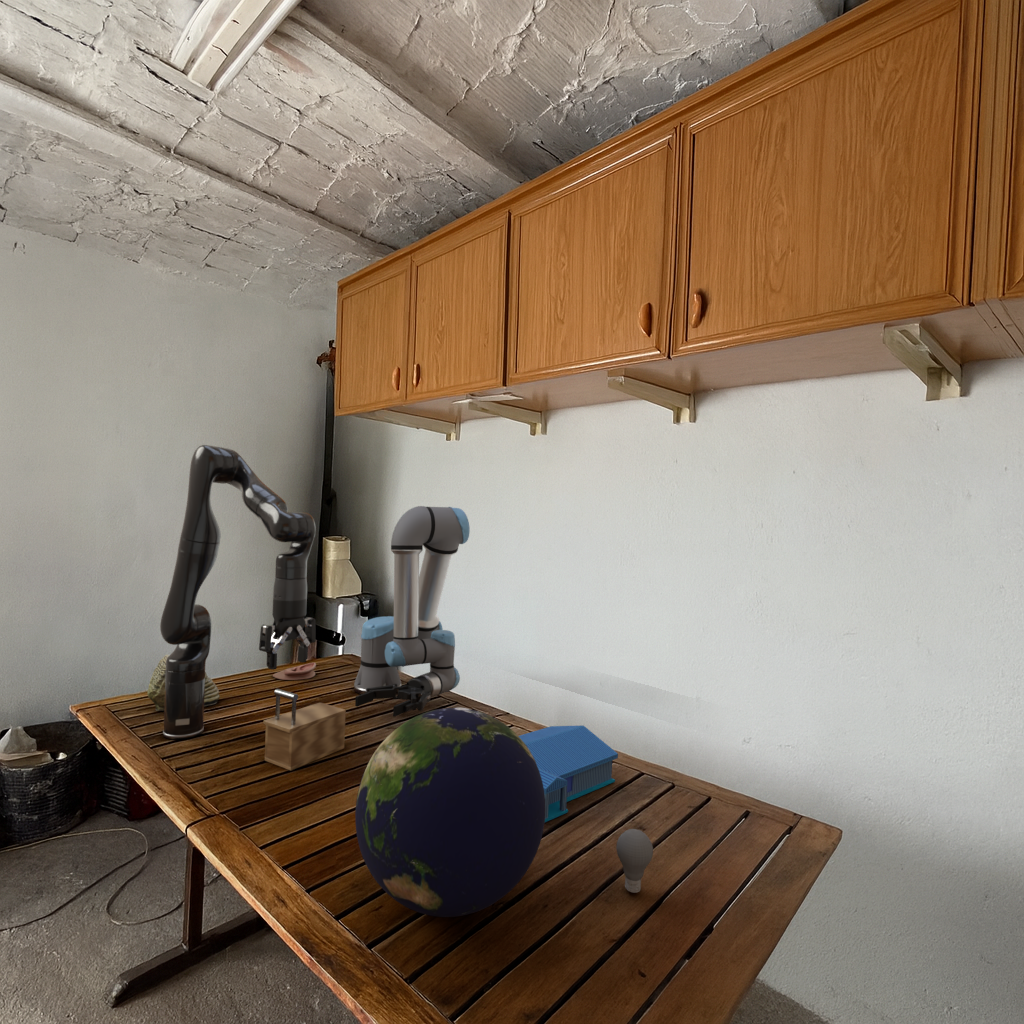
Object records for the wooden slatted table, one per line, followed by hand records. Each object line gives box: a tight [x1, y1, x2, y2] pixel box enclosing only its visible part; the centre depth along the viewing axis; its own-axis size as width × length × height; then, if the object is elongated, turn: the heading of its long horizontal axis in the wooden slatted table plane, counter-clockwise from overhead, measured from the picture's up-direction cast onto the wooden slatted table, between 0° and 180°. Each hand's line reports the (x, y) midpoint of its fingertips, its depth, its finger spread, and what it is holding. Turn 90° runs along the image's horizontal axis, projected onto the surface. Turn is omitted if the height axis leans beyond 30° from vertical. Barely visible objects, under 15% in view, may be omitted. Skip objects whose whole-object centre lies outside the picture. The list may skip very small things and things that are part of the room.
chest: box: [264, 712, 347, 771], centre depth 155 cm, size 16×9×9 cm, turn 149°
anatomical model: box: [272, 662, 317, 681], centre depth 220 cm, size 13×4×12 cm
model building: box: [518, 725, 619, 823], centre depth 140 cm, size 39×24×10 cm, turn 132°
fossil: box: [147, 654, 221, 712], centre depth 185 cm, size 9×18×15 cm, turn 132°
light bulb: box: [615, 828, 654, 894], centre depth 106 cm, size 6×6×10 cm
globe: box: [354, 707, 546, 918], centre depth 101 cm, size 30×30×30 cm
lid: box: [262, 688, 347, 733], centre depth 155 cm, size 17×9×8 cm, turn 149°
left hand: (287, 665), depth 149 cm, fingers open, 8 cm apart
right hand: (374, 706), depth 173 cm, fingers open, 13 cm apart
